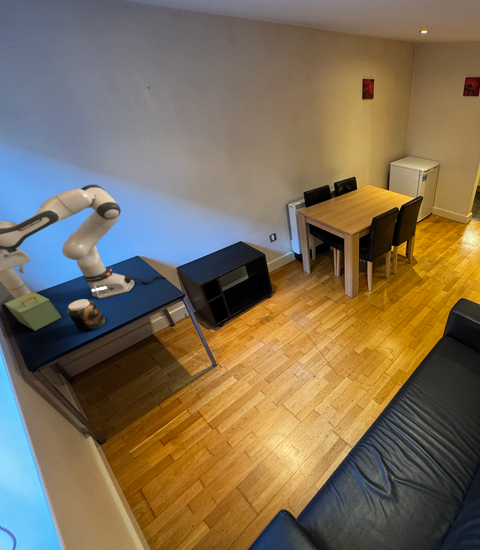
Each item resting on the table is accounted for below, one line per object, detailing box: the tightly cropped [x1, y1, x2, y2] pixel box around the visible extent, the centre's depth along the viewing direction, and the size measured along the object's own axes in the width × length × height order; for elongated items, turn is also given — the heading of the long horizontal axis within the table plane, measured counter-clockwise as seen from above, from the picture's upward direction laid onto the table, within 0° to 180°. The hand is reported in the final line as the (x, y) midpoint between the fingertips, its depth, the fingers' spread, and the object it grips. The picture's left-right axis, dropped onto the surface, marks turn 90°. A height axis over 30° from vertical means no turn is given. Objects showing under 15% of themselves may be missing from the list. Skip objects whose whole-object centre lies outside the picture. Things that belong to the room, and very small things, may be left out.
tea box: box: [6, 300, 62, 332], centre depth 163 cm, size 16×12×13 cm
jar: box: [66, 298, 106, 333], centre depth 159 cm, size 12×12×15 cm
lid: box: [4, 291, 50, 313], centre depth 158 cm, size 16×12×5 cm
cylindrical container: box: [0, 267, 32, 299], centre depth 172 cm, size 7×7×25 cm
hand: (10, 277), depth 147 cm, fingers open, 8 cm apart
